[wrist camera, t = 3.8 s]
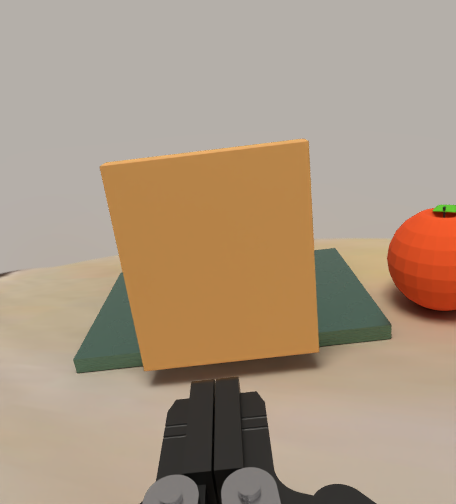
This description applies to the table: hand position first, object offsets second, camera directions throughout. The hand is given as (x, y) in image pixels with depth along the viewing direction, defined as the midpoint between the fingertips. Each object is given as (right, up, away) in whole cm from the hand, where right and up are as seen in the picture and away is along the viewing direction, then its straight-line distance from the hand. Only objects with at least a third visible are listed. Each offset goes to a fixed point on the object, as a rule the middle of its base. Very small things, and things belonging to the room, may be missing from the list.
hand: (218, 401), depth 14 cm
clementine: (+15, +1, +17) cm, 23 cm away
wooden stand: (0, 0, +16) cm, 16 cm away
